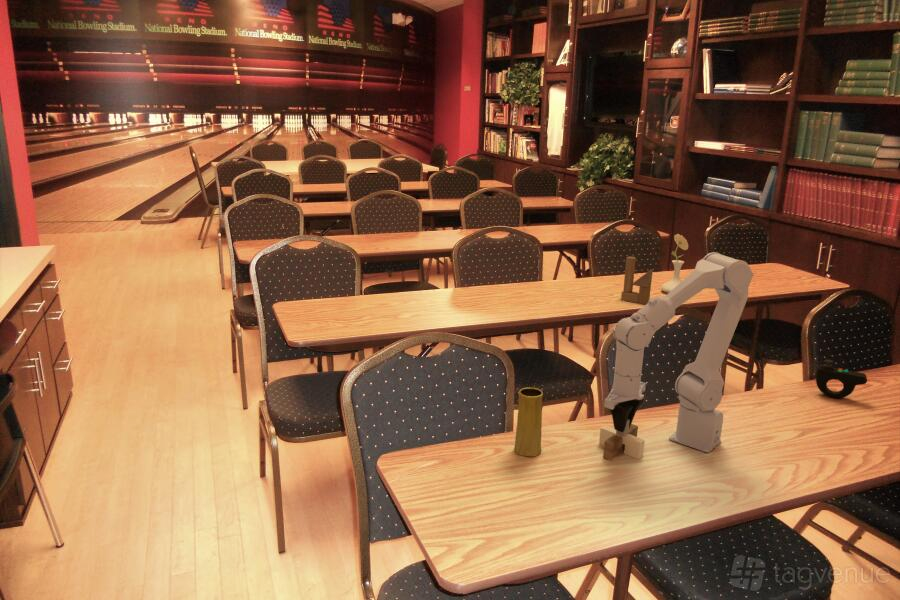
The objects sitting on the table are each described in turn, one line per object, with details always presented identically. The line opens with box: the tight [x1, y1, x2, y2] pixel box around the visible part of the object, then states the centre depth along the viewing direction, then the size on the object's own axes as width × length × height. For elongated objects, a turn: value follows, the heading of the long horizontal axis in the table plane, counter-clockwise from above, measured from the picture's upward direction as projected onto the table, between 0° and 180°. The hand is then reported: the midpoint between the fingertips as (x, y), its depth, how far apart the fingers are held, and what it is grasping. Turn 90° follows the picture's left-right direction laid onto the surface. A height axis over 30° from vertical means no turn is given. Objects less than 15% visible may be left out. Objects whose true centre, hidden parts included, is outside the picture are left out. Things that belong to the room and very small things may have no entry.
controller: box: [813, 359, 868, 399], centre depth 180 cm, size 4×12×10 cm, turn 58°
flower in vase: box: [660, 233, 689, 294], centre depth 282 cm, size 13×11×25 cm
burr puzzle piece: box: [598, 419, 646, 460], centre depth 150 cm, size 10×2×8 cm, turn 46°
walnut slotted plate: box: [602, 423, 639, 461], centre depth 150 cm, size 12×2×4 cm, turn 138°
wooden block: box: [620, 256, 654, 306], centre depth 267 cm, size 4×11×18 cm, turn 54°
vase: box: [513, 387, 544, 458], centre depth 148 cm, size 6×6×14 cm
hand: (622, 428), depth 150 cm, fingers closed on burr puzzle piece, 2 cm apart
